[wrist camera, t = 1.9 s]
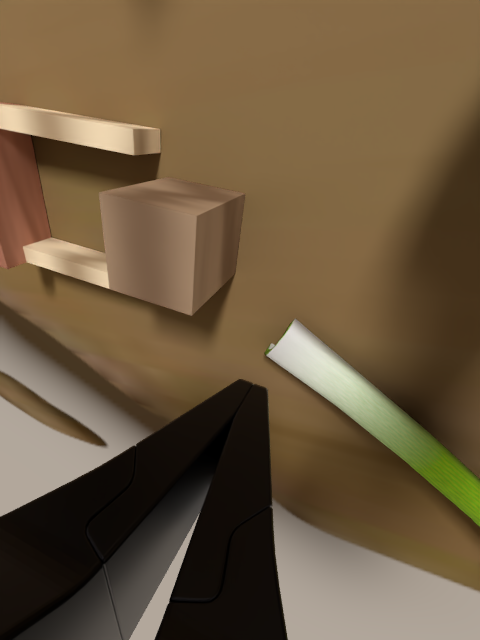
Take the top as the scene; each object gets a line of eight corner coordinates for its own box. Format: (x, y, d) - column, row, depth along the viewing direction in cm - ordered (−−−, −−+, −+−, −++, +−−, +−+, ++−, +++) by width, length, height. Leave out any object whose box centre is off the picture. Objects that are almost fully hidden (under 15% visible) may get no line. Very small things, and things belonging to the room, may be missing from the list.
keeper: (245, 193, 18) (196, 215, 14) (235, 273, 21) (191, 315, 16) (168, 176, 20) (98, 192, 15) (168, 254, 22) (109, 289, 17)
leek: (322, 284, 22) (697, 598, 20) (269, 339, 26) (568, 596, 25) (287, 333, 17) (765, 741, 16) (232, 388, 22) (592, 704, 20)
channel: (160, 129, 18) (112, 128, 15) (161, 284, 24) (127, 309, 20) (10, 103, 21) (-57, 98, 18) (42, 248, 26) (-5, 264, 23)
